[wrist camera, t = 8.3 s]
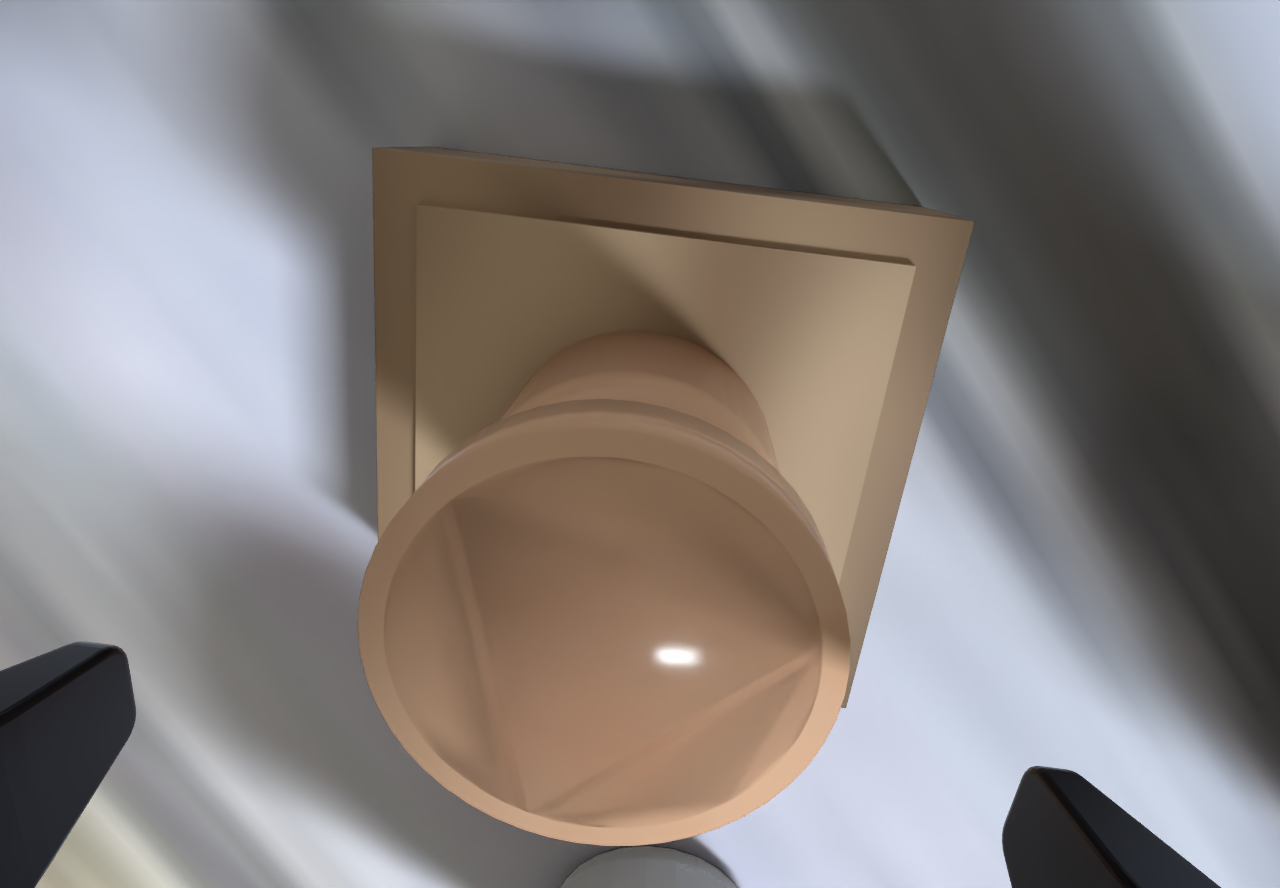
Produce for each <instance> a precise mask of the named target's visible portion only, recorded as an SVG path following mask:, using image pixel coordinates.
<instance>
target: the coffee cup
mask: <svg viewBox="0 0 1280 888" xmlns="http://www.w3.org/2000/svg"><path fill="white" fill-rule="evenodd" d="M560 888H737V887H736V885H735V884H734V883H733V882H732V881H731V880H730V879H729V878H728V877H727V876H726V875H725V874H723V873H722V872H721V871H720V870H719V869H718V868H716V867H714V866H713V865H711V864H709V863H707V862H706V861H704V860H702V859H701V858H699V857H696V856H693V855H690V854H687V853H684V852H681V851H678V850H675V849H669V848H661V847H652V846H640V847H626V848H620V849H616V850H613V851H609V852H606V853H602V854H599V855H597V856H595V857H593V858H592V859H590V860H588V861H586V862H585V863H583V864H581V865H579V866H578V867H577V868H576V869H575V870H574V871H573V872H572V873H571V874H570V875H569V876H568V878H567V879H566V880H565V881H564V883H563V885H562V886H561V887H560Z"/></svg>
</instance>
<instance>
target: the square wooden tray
mask: <svg viewBox="0 0 1280 888" xmlns="http://www.w3.org/2000/svg"><path fill="white" fill-rule="evenodd" d="M372 151H373V219H374V287H375V355H376V424H377V492H378V541H379V540H380V538H381V536H382V535H383V533H384V531H385V530H386V528H387V526H388V525H389V523H390V521H391V520H392V519H393V518H394V517H395V515H396V514H397V513H398V512H399V510H400V509H401V508H402V507H403V506H404V504H405V503H406V502H407V501H408V500H409V498H410V497H411V496H412V495H413V494H414V492H415V491H416V490H417V489H418V487H419V486H420V485H421V484H422V483H423V481H424V480H425V479H426V478H427V477H428V475H429V474H430V473H431V472H432V471H433V469H434V468H435V467H436V466H437V464H438V463H439V462H441V461H442V460H443V459H444V458H445V457H446V456H447V455H448V454H449V453H451V452H452V451H453V450H454V449H455V448H456V447H457V446H458V445H460V444H461V443H463V442H464V441H466V440H467V439H469V438H470V437H472V436H473V435H475V434H476V433H478V432H479V431H481V430H482V429H484V428H486V427H488V426H490V425H492V424H494V423H496V422H498V421H499V420H500V419H501V417H502V416H503V414H504V413H505V412H506V410H507V409H508V408H509V406H510V405H511V404H512V402H513V401H514V399H515V398H516V397H517V395H518V394H519V393H520V391H521V390H522V388H523V387H524V386H525V384H526V383H527V382H528V381H529V379H530V378H531V377H532V376H533V375H534V374H535V372H536V371H537V370H538V369H539V368H540V367H541V366H543V365H544V364H545V363H546V362H547V361H548V360H549V359H550V358H552V357H553V356H555V355H556V354H558V353H559V352H561V351H562V350H564V349H565V348H567V347H569V346H571V345H573V344H576V343H578V342H580V341H582V340H585V339H588V338H591V337H594V336H597V335H601V334H606V333H611V332H617V331H633V330H636V331H651V332H658V333H663V334H668V335H672V336H675V337H678V338H681V339H684V340H687V341H690V342H692V343H694V344H696V345H698V346H700V347H702V348H704V349H706V350H708V351H709V352H711V353H712V354H714V355H715V356H717V357H718V358H720V359H721V360H722V361H724V362H725V363H726V364H727V365H728V366H729V367H730V368H731V369H733V370H734V371H735V372H736V373H737V374H738V376H739V377H740V378H741V379H742V380H743V381H744V382H745V384H746V385H747V386H748V388H749V389H750V391H751V392H752V394H753V395H754V397H755V398H756V400H757V402H758V404H759V406H760V408H761V410H762V413H763V415H764V418H765V421H766V424H767V427H768V430H769V434H770V438H771V441H772V445H773V449H774V452H775V456H776V460H777V464H778V467H779V471H780V474H781V475H782V476H783V477H784V478H785V480H786V481H787V482H788V483H789V484H790V485H791V486H792V487H793V489H794V490H795V491H796V492H797V494H798V495H799V497H800V498H801V500H802V501H803V503H804V504H805V506H806V507H807V509H808V510H809V512H810V513H811V515H812V517H813V519H814V521H815V523H816V526H817V528H818V530H819V532H820V534H821V536H822V538H823V540H824V543H825V546H826V549H827V552H828V555H829V558H830V561H831V564H832V567H833V570H834V573H835V576H836V579H837V582H838V585H839V589H840V592H841V595H842V599H843V602H844V605H845V609H846V612H847V619H848V626H849V634H850V670H849V676H848V681H847V687H846V692H845V696H844V699H843V702H842V705H841V707H842V708H846V705H847V702H848V698H849V694H850V690H851V687H852V683H853V679H854V675H855V671H856V668H857V664H858V660H859V656H860V653H861V649H862V645H863V641H864V637H865V634H866V630H867V626H868V622H869V619H870V615H871V611H872V607H873V604H874V600H875V596H876V592H877V588H878V585H879V581H880V577H881V573H882V570H883V566H884V562H885V558H886V554H887V551H888V547H889V543H890V539H891V536H892V532H893V528H894V524H895V520H896V517H897V513H898V509H899V505H900V502H901V498H902V494H903V490H904V486H905V483H906V479H907V475H908V471H909V468H910V464H911V460H912V456H913V452H914V449H915V445H916V441H917V437H918V434H919V430H920V426H921V422H922V418H923V415H924V411H925V407H926V403H927V400H928V396H929V392H930V388H931V384H932V381H933V377H934V373H935V369H936V366H937V362H938V358H939V354H940V350H941V347H942V343H943V339H944V335H945V332H946V328H947V324H948V320H949V316H950V313H951V309H952V305H953V301H954V298H955V294H956V290H957V286H958V282H959V279H960V275H961V271H962V267H963V264H964V260H965V256H966V252H967V248H968V245H969V241H970V237H971V233H972V230H973V226H974V221H970V220H967V219H963V218H959V217H956V216H952V215H949V214H945V213H942V212H938V211H935V210H931V209H928V208H924V207H917V206H909V205H901V204H893V203H885V202H876V201H868V200H860V199H852V198H844V197H836V196H827V195H819V194H811V193H803V192H795V191H787V190H778V189H770V188H762V187H754V186H746V185H738V184H730V183H721V182H713V181H705V180H697V179H689V178H681V177H672V176H664V175H656V174H648V173H640V172H632V171H623V170H615V169H607V168H599V167H591V166H583V165H575V164H566V163H558V162H550V161H542V160H534V159H526V158H517V157H509V156H501V155H493V154H485V153H477V152H468V151H460V150H452V149H444V148H436V147H390V148H372Z"/></svg>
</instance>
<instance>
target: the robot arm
mask: <svg viewBox="0 0 1280 888" xmlns="http://www.w3.org/2000/svg"><path fill="white" fill-rule="evenodd" d="M135 718H136V706H135V700H134V694H133V688H132V682H131V676H130V670H129V664H128V658H127V655H126V654H125V652H124V651H123V650H122V648H119V647H117V646H115V645H108V644H100V643H93V642H74V643H71V644H68V645H66V646H63V647H61V648H58V649H55V650H53V651H50V652H48V653H45V654H43V655H40V656H38V657H35V658H32V659H30V660H27V661H25V662H22V663H20V664H17V665H14V666H12V667H9V668H7V669H4V670H2V671H0V888H35V886H36V885H37V883H38V882H39V880H40V879H41V877H42V876H43V874H44V873H45V871H46V870H47V868H48V867H49V865H50V864H51V862H52V861H53V859H54V857H55V856H56V854H57V852H58V851H59V849H60V848H61V846H62V844H63V843H64V841H65V840H66V838H67V836H68V835H69V833H70V832H71V830H72V828H73V827H74V825H75V824H76V822H77V820H78V819H79V817H80V816H81V814H82V812H83V811H84V809H85V808H86V806H87V804H88V803H89V801H90V799H91V798H92V796H93V795H94V793H95V791H96V790H97V788H98V787H99V785H100V783H101V782H102V780H103V779H104V777H105V775H106V774H107V772H108V771H109V769H110V767H111V766H112V764H113V763H114V761H115V759H116V758H117V756H118V755H119V753H120V751H121V750H122V748H123V746H124V745H125V743H126V742H127V740H128V738H129V736H130V734H131V732H132V730H133V727H134V723H135ZM1002 845H1003V852H1004V857H1005V861H1006V865H1007V869H1008V873H1009V877H1010V881H1011V886H1012V888H1221V887H1220V886H1218V885H1217V884H1216V883H1215V882H1213V881H1212V880H1211V879H1210V878H1208V877H1207V876H1206V875H1205V874H1203V873H1202V872H1201V871H1200V870H1198V869H1197V868H1196V867H1195V866H1193V865H1192V864H1191V863H1190V862H1188V861H1187V860H1186V859H1185V858H1183V857H1182V856H1181V855H1180V854H1178V853H1177V852H1176V851H1175V850H1173V849H1172V848H1171V847H1170V846H1168V845H1167V844H1166V843H1164V842H1163V841H1162V840H1161V839H1159V838H1158V837H1157V836H1156V835H1154V834H1153V833H1152V832H1151V831H1149V830H1148V829H1147V828H1146V827H1144V826H1143V825H1142V824H1141V823H1139V822H1138V821H1137V820H1136V819H1134V818H1133V817H1132V816H1131V815H1129V814H1128V813H1127V812H1126V811H1124V810H1123V809H1122V808H1121V807H1119V806H1118V805H1117V804H1116V803H1114V802H1113V801H1112V800H1111V799H1109V798H1108V797H1107V796H1106V795H1104V794H1103V793H1102V792H1101V791H1099V790H1098V789H1097V788H1096V787H1094V786H1093V785H1092V784H1091V783H1089V782H1088V781H1087V780H1086V779H1084V778H1083V777H1082V776H1080V775H1079V774H1078V773H1076V772H1074V771H1070V770H1066V769H1058V768H1051V767H1043V766H1034V767H1030V768H1029V769H1028V770H1027V771H1026V772H1025V773H1024V775H1023V777H1022V779H1021V782H1020V784H1019V787H1018V790H1017V792H1016V795H1015V797H1014V800H1013V803H1012V805H1011V808H1010V810H1009V813H1008V815H1007V818H1006V821H1005V823H1004V827H1003V833H1002Z"/></svg>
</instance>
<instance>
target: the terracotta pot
mask: <svg viewBox="0 0 1280 888" xmlns="http://www.w3.org/2000/svg"><path fill="white" fill-rule="evenodd" d="M358 637H359V649H360V656H361V660H362V664H363V668H364V672H365V676H366V680H367V683H368V685H369V688H370V690H371V693H372V695H373V698H374V700H375V703H376V705H377V707H378V709H379V710H380V712H381V714H382V716H383V718H384V719H385V721H386V723H387V725H388V727H389V728H390V730H391V731H392V732H393V734H394V735H395V736H396V738H397V739H398V741H399V742H400V743H401V745H402V746H403V747H404V749H405V750H406V751H407V752H408V753H409V754H410V755H411V756H412V758H413V759H414V760H415V761H416V762H417V763H418V764H419V765H420V766H421V767H422V768H423V769H424V770H425V771H426V772H427V773H428V774H429V775H431V776H432V777H433V778H434V779H435V780H436V781H438V782H439V783H440V784H441V785H442V786H443V787H445V788H446V789H447V790H449V791H450V792H452V793H453V794H455V795H456V796H457V797H459V798H460V799H462V800H463V801H465V802H466V803H468V804H469V805H471V806H473V807H475V808H477V809H479V810H480V811H482V812H484V813H486V814H488V815H490V816H492V817H493V818H495V819H498V820H500V821H503V822H505V823H508V824H510V825H512V826H515V827H517V828H520V829H522V830H526V831H529V832H532V833H536V834H539V835H542V836H546V837H549V838H554V839H559V840H564V841H569V842H574V843H581V844H592V845H602V846H638V845H648V844H657V843H665V842H670V841H675V840H680V839H684V838H689V837H693V836H696V835H699V834H702V833H705V832H708V831H711V830H715V829H718V828H720V827H722V826H724V825H727V824H729V823H731V822H733V821H735V820H738V819H740V818H742V817H744V816H746V815H747V814H749V813H751V812H752V811H754V810H756V809H757V808H759V807H761V806H762V805H764V804H766V803H767V802H768V801H770V800H771V799H772V798H774V797H775V796H776V795H777V794H779V793H780V792H781V791H782V790H784V789H785V788H786V787H787V786H789V785H790V784H791V783H792V782H793V781H794V780H795V779H796V777H797V776H798V775H799V774H800V773H801V772H802V771H803V770H804V769H805V768H806V767H807V766H808V765H809V763H810V762H811V761H812V759H813V758H814V757H815V755H816V754H817V753H818V751H819V750H820V748H821V747H822V746H823V744H824V742H825V741H826V739H827V737H828V735H829V733H830V731H831V729H832V727H833V725H834V724H835V722H836V719H837V716H838V714H839V711H840V708H841V705H842V702H843V699H844V696H845V692H846V687H847V681H848V676H849V670H850V634H849V626H848V619H847V612H846V609H845V605H844V602H843V599H842V595H841V592H840V589H839V585H838V582H837V579H836V576H835V573H834V570H833V567H832V564H831V561H830V558H829V555H828V552H827V549H826V546H825V543H824V540H823V538H822V536H821V534H820V532H819V530H818V528H817V526H816V523H815V521H814V519H813V517H812V515H811V513H810V512H809V510H808V509H807V507H806V506H805V504H804V503H803V501H802V500H801V498H800V497H799V495H798V494H797V492H796V491H795V490H794V489H793V487H792V486H791V485H790V484H789V483H788V482H787V481H786V480H785V478H784V477H783V476H782V475H781V474H780V471H779V467H778V464H777V460H776V456H775V452H774V449H773V445H772V441H771V438H770V434H769V430H768V427H767V424H766V421H765V418H764V415H763V413H762V410H761V408H760V406H759V404H758V402H757V400H756V398H755V397H754V395H753V394H752V392H751V391H750V389H749V388H748V386H747V385H746V384H745V382H744V381H743V380H742V379H741V378H740V377H739V376H738V374H737V373H736V372H735V371H734V370H733V369H731V368H730V367H729V366H728V365H727V364H726V363H725V362H724V361H722V360H721V359H720V358H718V357H717V356H715V355H714V354H712V353H711V352H709V351H708V350H706V349H704V348H702V347H700V346H698V345H696V344H694V343H692V342H690V341H687V340H684V339H681V338H678V337H675V336H672V335H668V334H663V333H658V332H651V331H636V330H633V331H617V332H611V333H606V334H601V335H597V336H594V337H591V338H588V339H585V340H582V341H580V342H578V343H576V344H573V345H571V346H569V347H567V348H565V349H564V350H562V351H561V352H559V353H558V354H556V355H555V356H553V357H552V358H550V359H549V360H548V361H547V362H546V363H545V364H544V365H543V366H541V367H540V368H539V369H538V370H537V371H536V372H535V374H534V375H533V376H532V377H531V378H530V379H529V381H528V382H527V383H526V384H525V386H524V387H523V388H522V390H521V391H520V393H519V394H518V395H517V397H516V398H515V399H514V401H513V402H512V404H511V405H510V406H509V408H508V409H507V410H506V412H505V413H504V414H503V416H502V417H501V419H500V420H499V421H498V422H496V423H494V424H492V425H490V426H488V427H486V428H484V429H482V430H481V431H479V432H478V433H476V434H475V435H473V436H472V437H470V438H469V439H467V440H466V441H464V442H463V443H461V444H460V445H458V446H457V447H456V448H455V449H454V450H453V451H452V452H451V453H449V454H448V455H447V456H446V457H445V458H444V459H443V460H442V461H441V462H439V463H438V464H437V466H436V467H435V468H434V469H433V471H432V472H431V473H430V474H429V475H428V477H427V478H426V479H425V480H424V481H423V483H422V484H421V485H420V486H419V487H418V489H417V490H416V491H415V492H414V494H413V495H412V496H411V497H410V498H409V500H408V501H407V502H406V503H405V504H404V506H403V507H402V508H401V509H400V510H399V512H398V513H397V514H396V515H395V517H394V518H393V519H392V520H391V521H390V523H389V525H388V526H387V528H386V530H385V531H384V533H383V535H382V536H381V538H380V540H379V541H378V543H377V545H376V547H375V549H374V552H373V554H372V557H371V559H370V562H369V564H368V567H367V569H366V572H365V576H364V580H363V585H362V589H361V593H360V598H359V610H358Z"/></svg>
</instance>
